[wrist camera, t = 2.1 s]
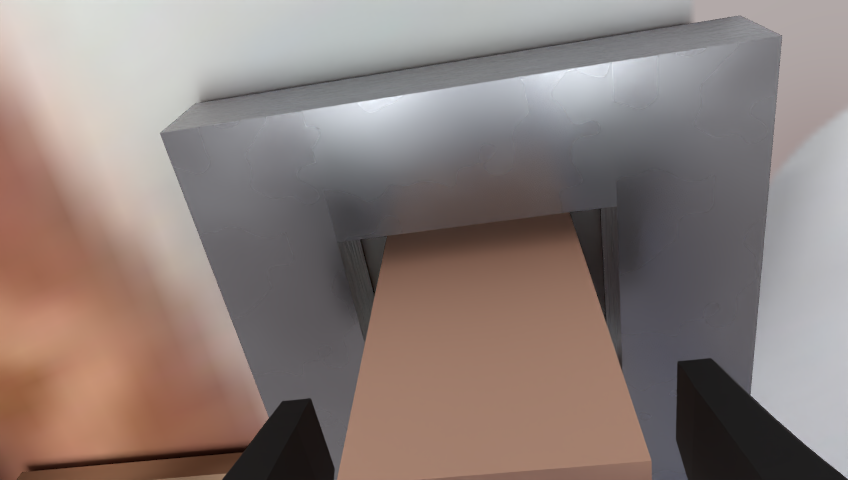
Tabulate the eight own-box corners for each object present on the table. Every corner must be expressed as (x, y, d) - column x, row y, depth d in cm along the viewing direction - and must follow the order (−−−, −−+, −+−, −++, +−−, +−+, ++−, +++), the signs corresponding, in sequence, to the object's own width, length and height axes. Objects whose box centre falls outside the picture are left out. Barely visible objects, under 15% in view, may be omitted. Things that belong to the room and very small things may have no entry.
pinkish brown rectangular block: (566, 202, 16) (651, 460, 9) (577, 345, 18) (653, 647, 11) (389, 226, 16) (335, 485, 9) (419, 362, 18) (394, 659, 11)
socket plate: (740, 15, 13) (781, 35, 12) (716, 435, 19) (741, 491, 17) (195, 103, 15) (160, 133, 13) (322, 468, 21) (309, 523, 19)
